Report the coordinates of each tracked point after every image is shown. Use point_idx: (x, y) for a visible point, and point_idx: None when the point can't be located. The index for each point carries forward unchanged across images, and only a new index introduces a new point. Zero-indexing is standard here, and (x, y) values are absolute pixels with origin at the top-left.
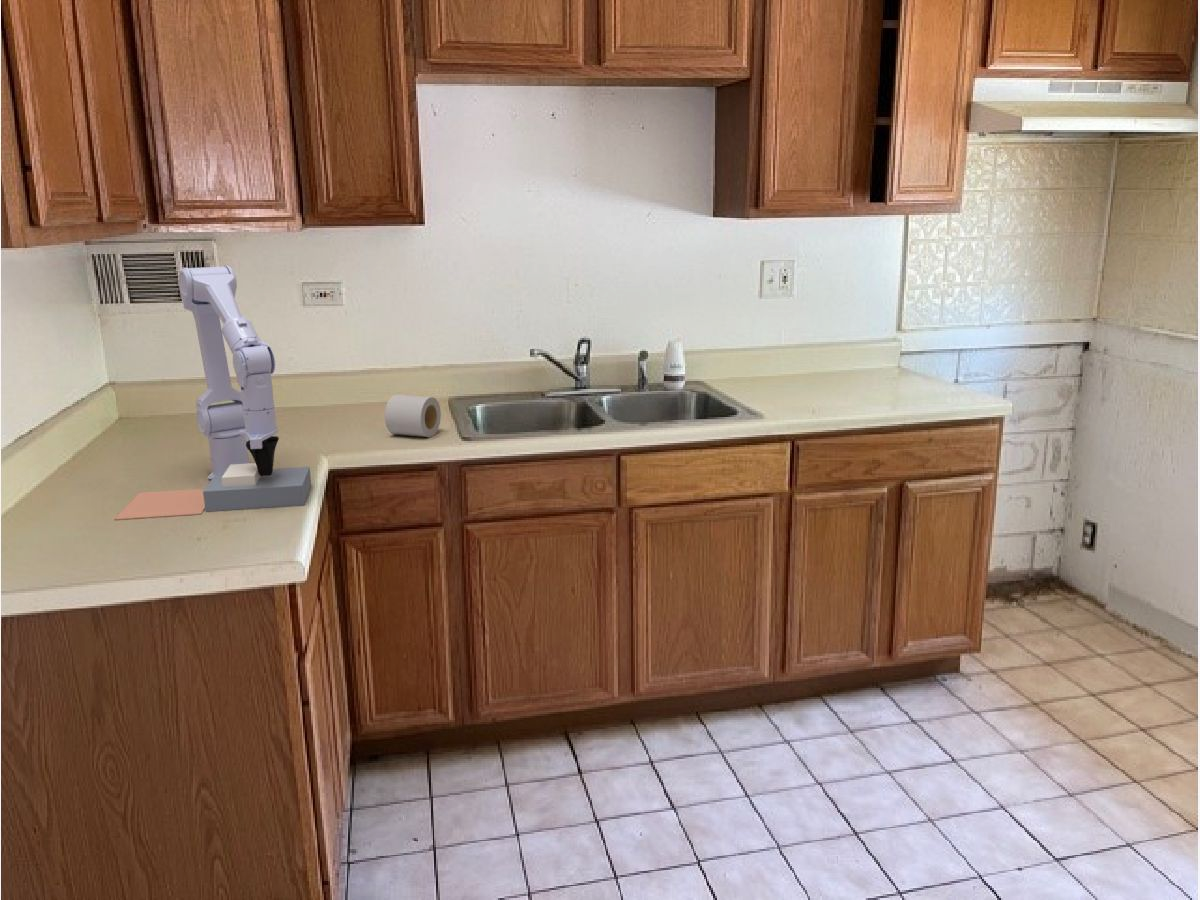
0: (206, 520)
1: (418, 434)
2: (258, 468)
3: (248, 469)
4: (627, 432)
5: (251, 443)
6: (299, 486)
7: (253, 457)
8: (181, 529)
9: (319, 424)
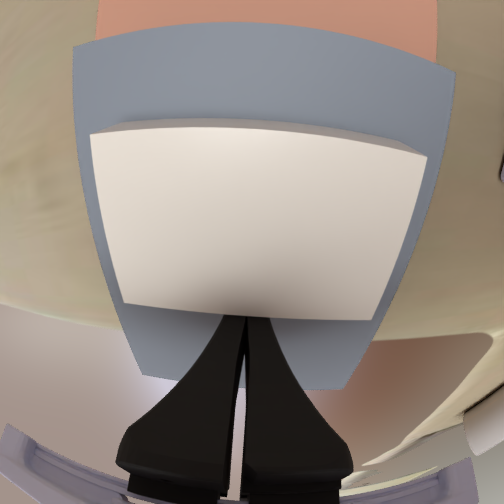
0: (46, 93)
1: (471, 411)
2: (218, 325)
3: (250, 273)
4: (351, 478)
5: (1, 450)
6: (141, 368)
7: (186, 375)
8: (5, 60)
9: None
